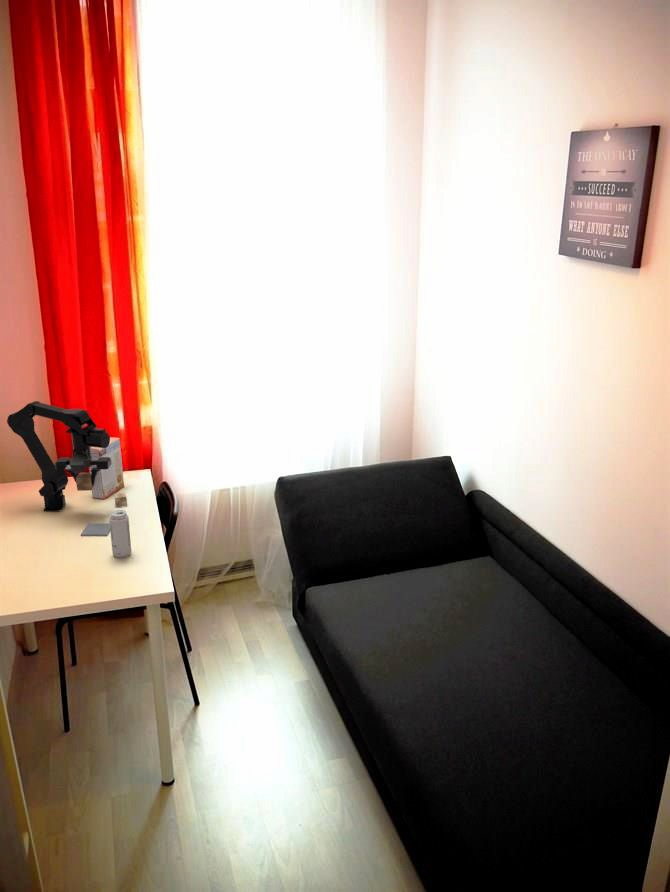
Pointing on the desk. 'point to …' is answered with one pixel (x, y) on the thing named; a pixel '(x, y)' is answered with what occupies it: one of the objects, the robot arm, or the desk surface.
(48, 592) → the desk surface
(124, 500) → the oak block
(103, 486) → the cracker box
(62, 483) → the robot arm
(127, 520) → the energy drink can
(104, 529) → the slate coaster
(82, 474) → the walnut cube
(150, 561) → the desk surface
